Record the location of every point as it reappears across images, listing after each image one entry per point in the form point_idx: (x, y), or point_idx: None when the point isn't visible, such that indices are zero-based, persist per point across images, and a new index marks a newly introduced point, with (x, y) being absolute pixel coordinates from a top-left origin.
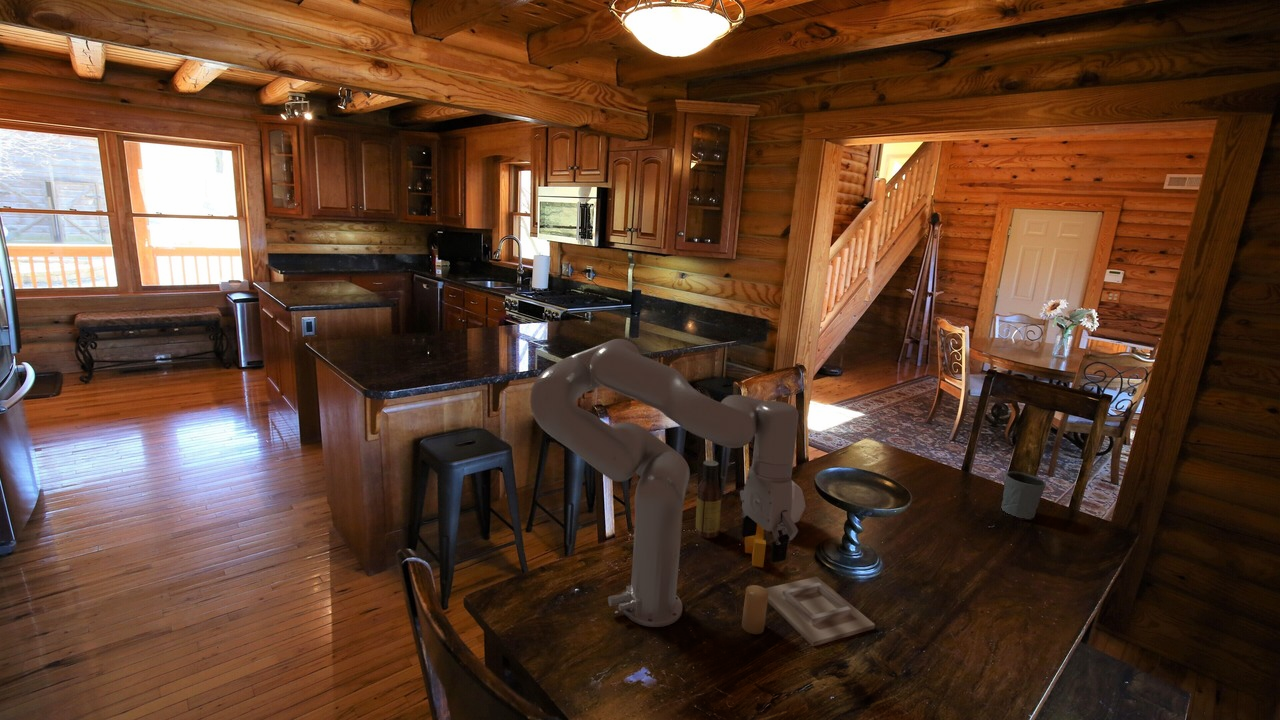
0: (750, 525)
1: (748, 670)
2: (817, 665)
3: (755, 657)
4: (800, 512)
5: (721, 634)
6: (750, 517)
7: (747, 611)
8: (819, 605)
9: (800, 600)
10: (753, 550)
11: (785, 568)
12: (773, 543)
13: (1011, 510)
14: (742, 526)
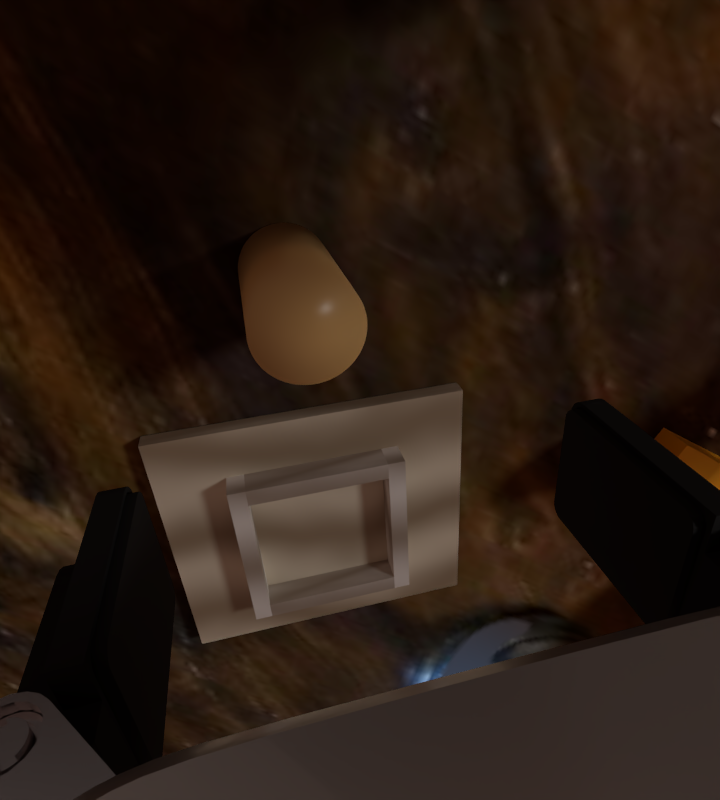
0: (627, 526)
1: (4, 107)
2: (35, 408)
3: (94, 186)
4: None
5: (265, 100)
6: (628, 648)
7: (277, 248)
8: (323, 539)
9: (363, 495)
10: None
11: (538, 516)
12: (58, 665)
13: None
14: (662, 447)
